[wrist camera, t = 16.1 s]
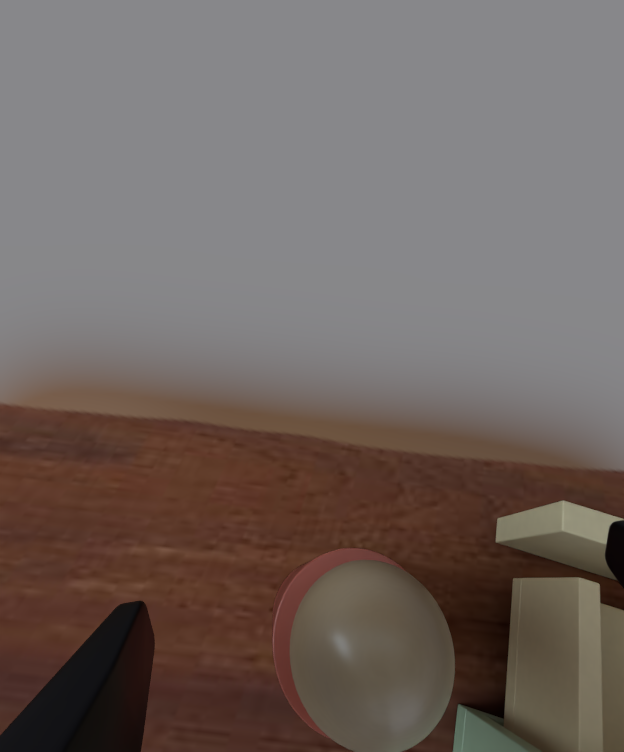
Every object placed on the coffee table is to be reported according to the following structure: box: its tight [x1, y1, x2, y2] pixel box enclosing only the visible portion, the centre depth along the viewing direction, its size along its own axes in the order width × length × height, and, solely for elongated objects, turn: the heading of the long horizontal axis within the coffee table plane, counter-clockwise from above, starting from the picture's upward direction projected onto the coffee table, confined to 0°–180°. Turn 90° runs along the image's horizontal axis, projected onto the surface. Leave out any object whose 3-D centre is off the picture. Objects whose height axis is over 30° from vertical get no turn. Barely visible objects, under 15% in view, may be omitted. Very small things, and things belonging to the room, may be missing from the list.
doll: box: [272, 548, 455, 752], centre depth 14 cm, size 5×5×13 cm
